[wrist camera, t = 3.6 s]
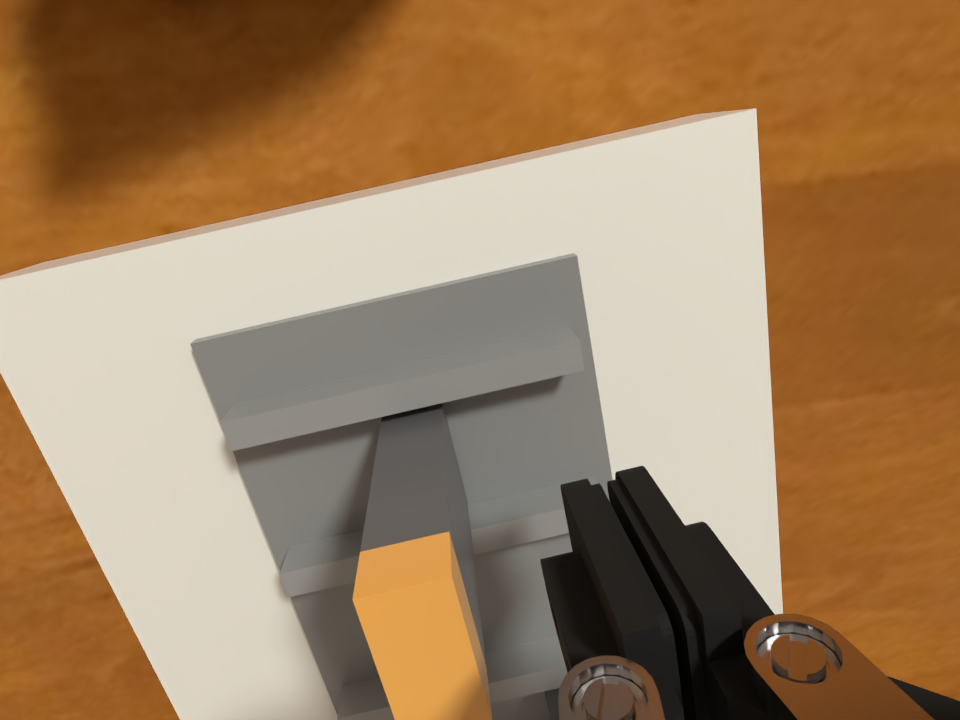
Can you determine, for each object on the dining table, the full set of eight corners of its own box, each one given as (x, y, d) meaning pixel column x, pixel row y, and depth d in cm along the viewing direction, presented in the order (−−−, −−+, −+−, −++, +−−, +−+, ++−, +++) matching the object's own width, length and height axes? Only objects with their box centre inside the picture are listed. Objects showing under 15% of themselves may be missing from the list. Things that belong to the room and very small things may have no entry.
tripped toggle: (441, 397, 17) (451, 576, 10) (466, 499, 18) (492, 723, 11) (382, 411, 16) (352, 599, 10) (412, 511, 18) (403, 744, 11)
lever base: (696, 114, 19) (1058, 78, 8) (745, 698, 27) (956, 1067, 16) (43, 262, 19) (-478, 428, 8) (293, 804, 27) (204, 1245, 16)
